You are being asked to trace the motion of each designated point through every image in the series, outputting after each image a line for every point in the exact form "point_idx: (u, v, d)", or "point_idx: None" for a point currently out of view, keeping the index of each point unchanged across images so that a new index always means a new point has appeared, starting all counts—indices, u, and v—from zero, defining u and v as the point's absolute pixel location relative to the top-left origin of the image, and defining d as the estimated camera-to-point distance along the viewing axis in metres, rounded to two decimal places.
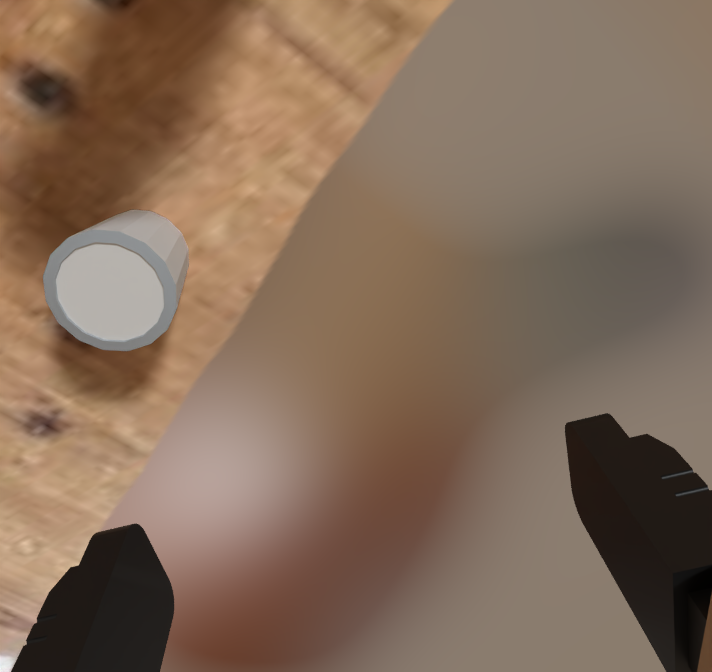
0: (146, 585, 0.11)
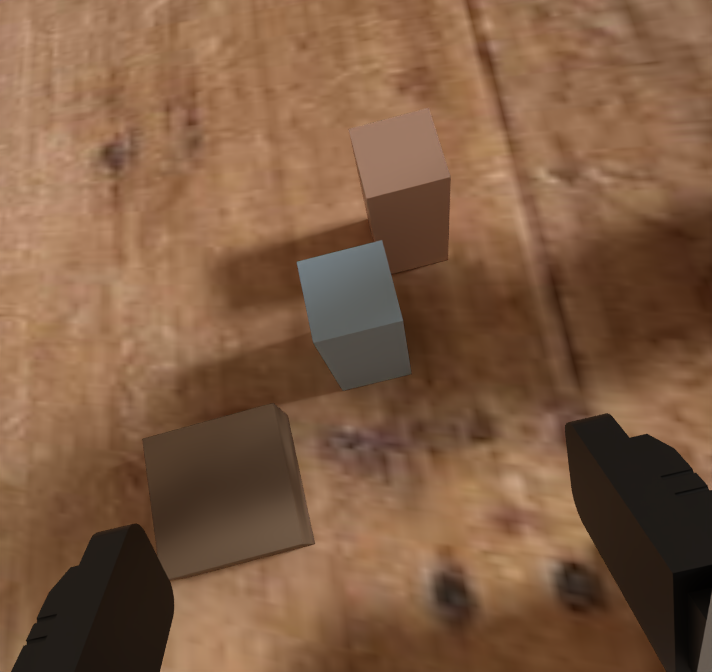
0: (146, 585, 0.11)
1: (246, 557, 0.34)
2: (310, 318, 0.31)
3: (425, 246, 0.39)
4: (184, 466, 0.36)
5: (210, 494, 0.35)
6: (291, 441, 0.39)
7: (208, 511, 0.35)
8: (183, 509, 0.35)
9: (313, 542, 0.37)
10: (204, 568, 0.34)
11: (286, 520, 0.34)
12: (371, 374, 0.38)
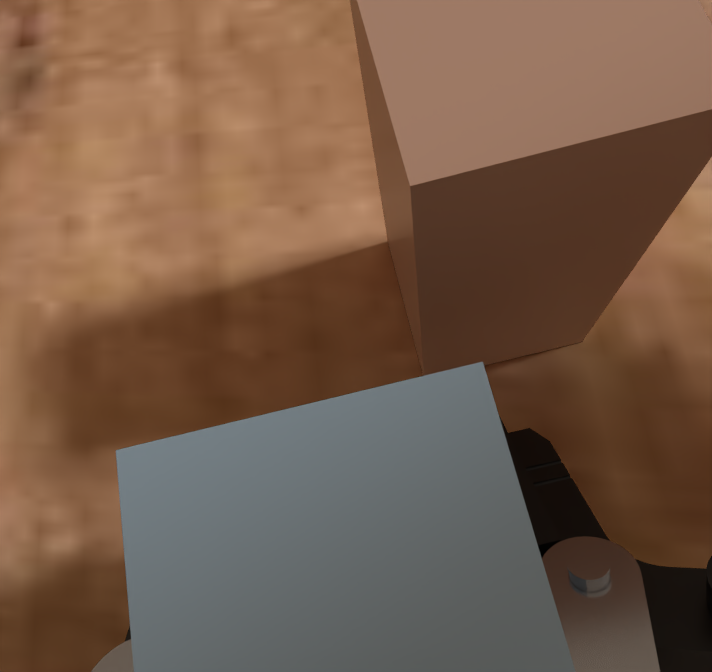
0: None
1: None
2: None
3: (544, 320, 0.15)
4: None
5: None
6: None
7: None
8: None
9: None
10: None
11: None
12: None
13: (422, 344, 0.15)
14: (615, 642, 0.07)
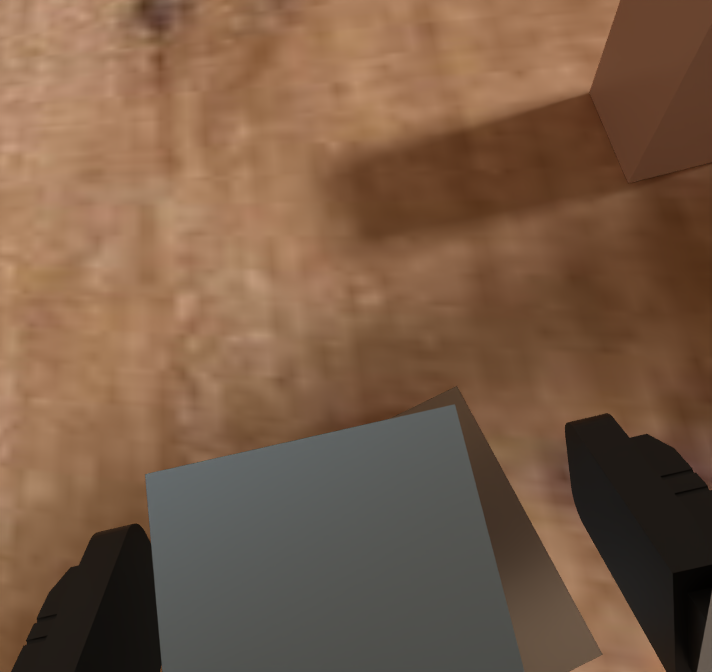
0: (146, 584, 0.11)
1: None
2: None
3: None
4: None
5: None
6: None
7: None
8: None
9: None
10: None
11: (553, 612, 0.17)
12: None
13: (655, 131, 0.21)
14: None
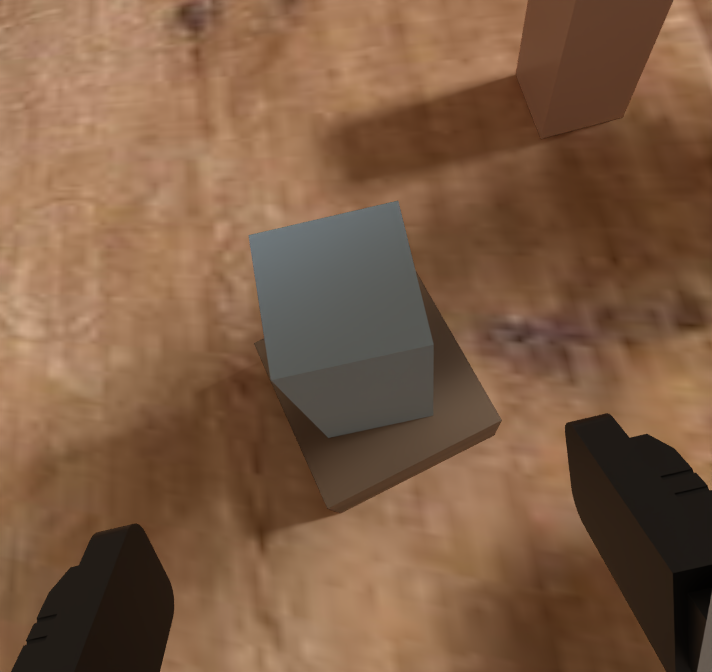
0: (146, 585, 0.11)
1: (433, 453, 0.26)
2: (267, 335, 0.17)
3: (608, 89, 0.31)
4: None
5: None
6: None
7: None
8: None
9: (493, 432, 0.29)
10: (381, 479, 0.26)
11: (472, 397, 0.26)
12: (373, 417, 0.24)
13: (551, 98, 0.31)
14: None
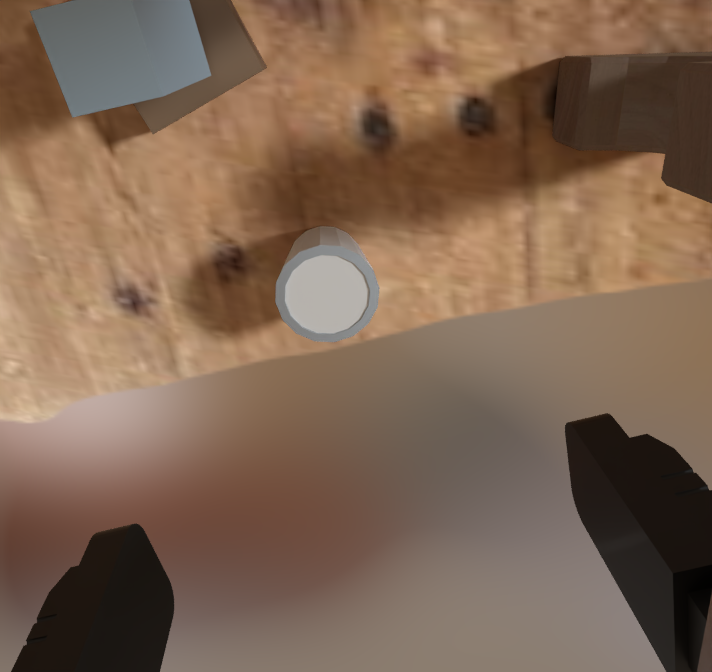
0: (146, 585, 0.11)
1: (218, 94, 0.39)
2: (63, 88, 0.29)
3: None
4: None
5: None
6: None
7: None
8: None
9: (266, 66, 0.41)
10: (185, 113, 0.39)
11: (242, 52, 0.38)
12: None
13: None
14: None
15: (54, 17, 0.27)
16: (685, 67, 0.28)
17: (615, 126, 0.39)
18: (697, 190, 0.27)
